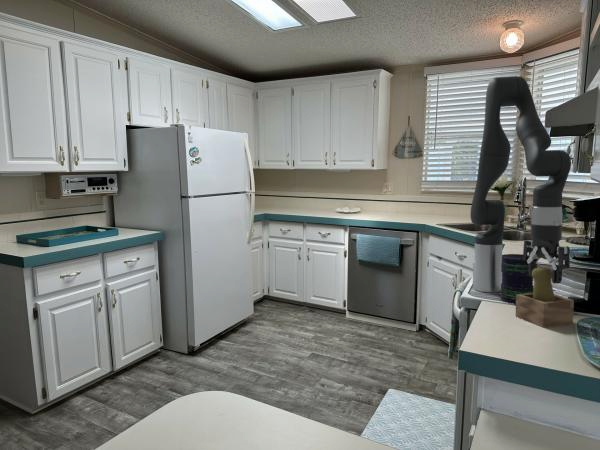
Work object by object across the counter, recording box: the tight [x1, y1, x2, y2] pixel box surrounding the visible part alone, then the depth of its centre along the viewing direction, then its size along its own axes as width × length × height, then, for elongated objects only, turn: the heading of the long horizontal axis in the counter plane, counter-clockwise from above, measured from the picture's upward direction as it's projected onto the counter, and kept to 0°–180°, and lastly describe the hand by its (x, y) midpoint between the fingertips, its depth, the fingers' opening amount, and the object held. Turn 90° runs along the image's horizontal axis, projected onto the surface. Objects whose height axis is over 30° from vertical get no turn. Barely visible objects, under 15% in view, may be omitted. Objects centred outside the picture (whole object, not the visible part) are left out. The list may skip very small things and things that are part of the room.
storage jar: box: [500, 253, 534, 305], centre depth 138 cm, size 10×10×15 cm
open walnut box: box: [515, 293, 575, 329], centre depth 118 cm, size 10×10×7 cm
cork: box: [532, 267, 555, 302], centre depth 118 cm, size 6×6×11 cm
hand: (544, 279), depth 118 cm, fingers open, 8 cm apart
